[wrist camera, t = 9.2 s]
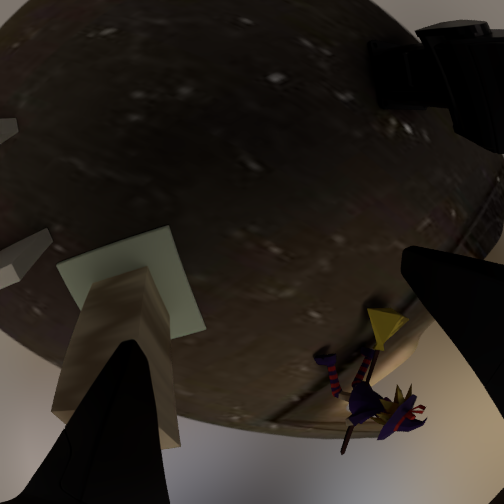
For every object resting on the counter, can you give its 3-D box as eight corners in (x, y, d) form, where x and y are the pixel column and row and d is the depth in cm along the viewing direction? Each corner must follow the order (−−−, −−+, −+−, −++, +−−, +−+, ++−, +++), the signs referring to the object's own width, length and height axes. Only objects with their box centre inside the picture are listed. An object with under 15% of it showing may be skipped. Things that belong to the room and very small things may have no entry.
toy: (282, 434, 28) (371, 497, 15) (330, 293, 31) (451, 314, 18) (323, 428, 32) (405, 473, 19) (366, 305, 34) (466, 323, 21)
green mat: (168, 224, 19) (168, 226, 19) (205, 326, 24) (206, 329, 23) (57, 263, 18) (56, 265, 17) (109, 351, 22) (109, 353, 22)
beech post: (147, 265, 19) (134, 402, 9) (169, 315, 22) (181, 446, 11) (92, 283, 19) (51, 411, 8) (118, 329, 21) (106, 454, 11)
